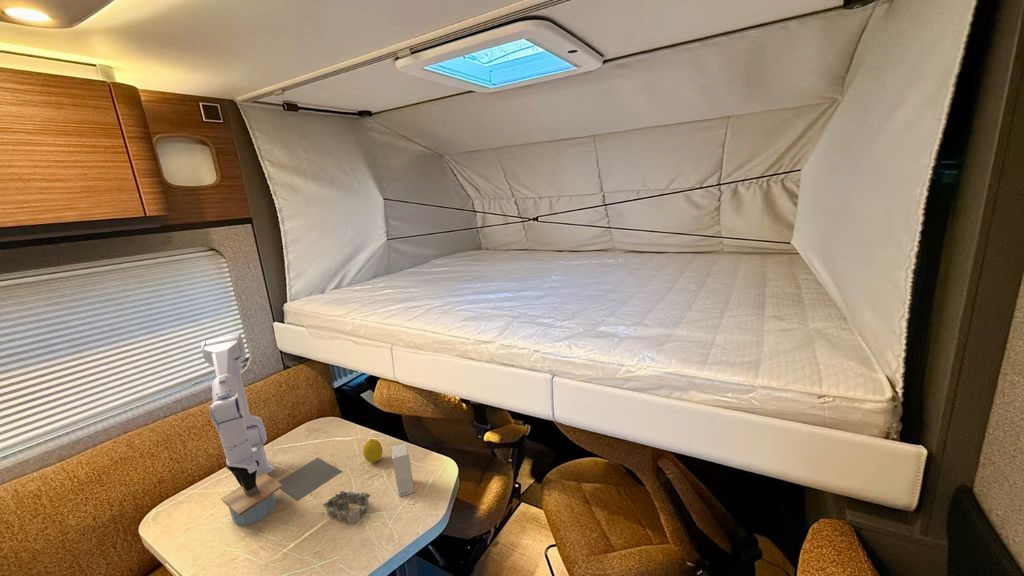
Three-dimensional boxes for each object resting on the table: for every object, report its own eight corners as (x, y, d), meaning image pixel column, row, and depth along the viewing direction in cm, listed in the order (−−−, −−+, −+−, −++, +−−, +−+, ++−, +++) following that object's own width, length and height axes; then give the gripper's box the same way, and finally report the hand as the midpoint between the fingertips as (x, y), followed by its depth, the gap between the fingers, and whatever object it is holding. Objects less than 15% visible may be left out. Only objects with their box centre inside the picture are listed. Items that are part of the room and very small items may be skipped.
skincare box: (414, 493, 115) (408, 454, 112) (398, 497, 114) (391, 459, 111) (413, 479, 120) (406, 442, 118) (398, 483, 119) (391, 446, 117)
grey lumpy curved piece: (374, 507, 112) (371, 493, 111) (352, 527, 105) (349, 514, 104) (345, 496, 116) (343, 484, 115) (323, 516, 110) (320, 503, 109)
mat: (273, 485, 124) (273, 484, 124) (317, 458, 135) (317, 457, 135) (297, 502, 116) (297, 500, 116) (342, 472, 127) (342, 471, 126)
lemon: (378, 468, 127) (374, 445, 125) (362, 467, 128) (357, 444, 126) (387, 457, 132) (383, 434, 130) (371, 456, 133) (367, 434, 131)
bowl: (227, 517, 112) (222, 501, 111) (266, 493, 120) (262, 478, 119) (243, 532, 107) (239, 515, 106) (283, 506, 114) (279, 490, 113)
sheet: (221, 500, 112) (216, 486, 110) (263, 473, 120) (259, 460, 119) (239, 516, 105) (233, 501, 104) (282, 486, 114) (277, 472, 112)
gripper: (265, 441, 107) (276, 486, 111) (240, 426, 116) (252, 469, 119) (234, 456, 102) (248, 503, 105) (211, 440, 110) (224, 484, 113)
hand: (248, 486), depth 112 cm, fingers closed on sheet, 2 cm apart
